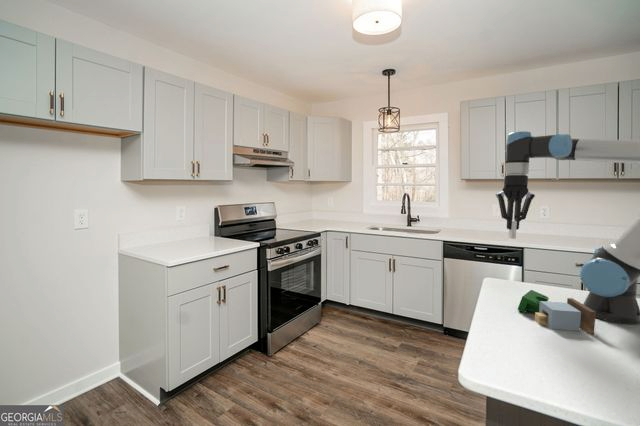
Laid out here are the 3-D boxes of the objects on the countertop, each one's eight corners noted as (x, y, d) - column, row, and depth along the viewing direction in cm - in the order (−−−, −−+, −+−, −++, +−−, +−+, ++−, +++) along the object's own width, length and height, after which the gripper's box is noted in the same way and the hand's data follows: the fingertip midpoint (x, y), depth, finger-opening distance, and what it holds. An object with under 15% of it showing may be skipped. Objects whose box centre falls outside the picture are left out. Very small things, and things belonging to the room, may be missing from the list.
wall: (570, 318, 112) (572, 298, 111) (593, 334, 100) (595, 311, 100) (565, 318, 112) (567, 298, 112) (588, 334, 100) (590, 311, 100)
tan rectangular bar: (558, 323, 109) (558, 314, 109) (563, 326, 106) (563, 317, 106) (534, 321, 110) (535, 312, 110) (538, 324, 107) (539, 315, 107)
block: (564, 320, 110) (566, 302, 110) (579, 330, 103) (581, 311, 102) (538, 318, 112) (539, 301, 111) (550, 328, 104) (552, 309, 103)
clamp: (533, 326, 116) (539, 308, 111) (515, 317, 120) (520, 299, 115) (546, 306, 122) (552, 288, 118) (528, 298, 126) (533, 280, 122)
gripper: (530, 175, 126) (526, 237, 128) (493, 174, 128) (490, 235, 131) (540, 174, 119) (535, 240, 121) (501, 174, 121) (497, 238, 123)
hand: (512, 238), depth 126 cm, fingers closed
